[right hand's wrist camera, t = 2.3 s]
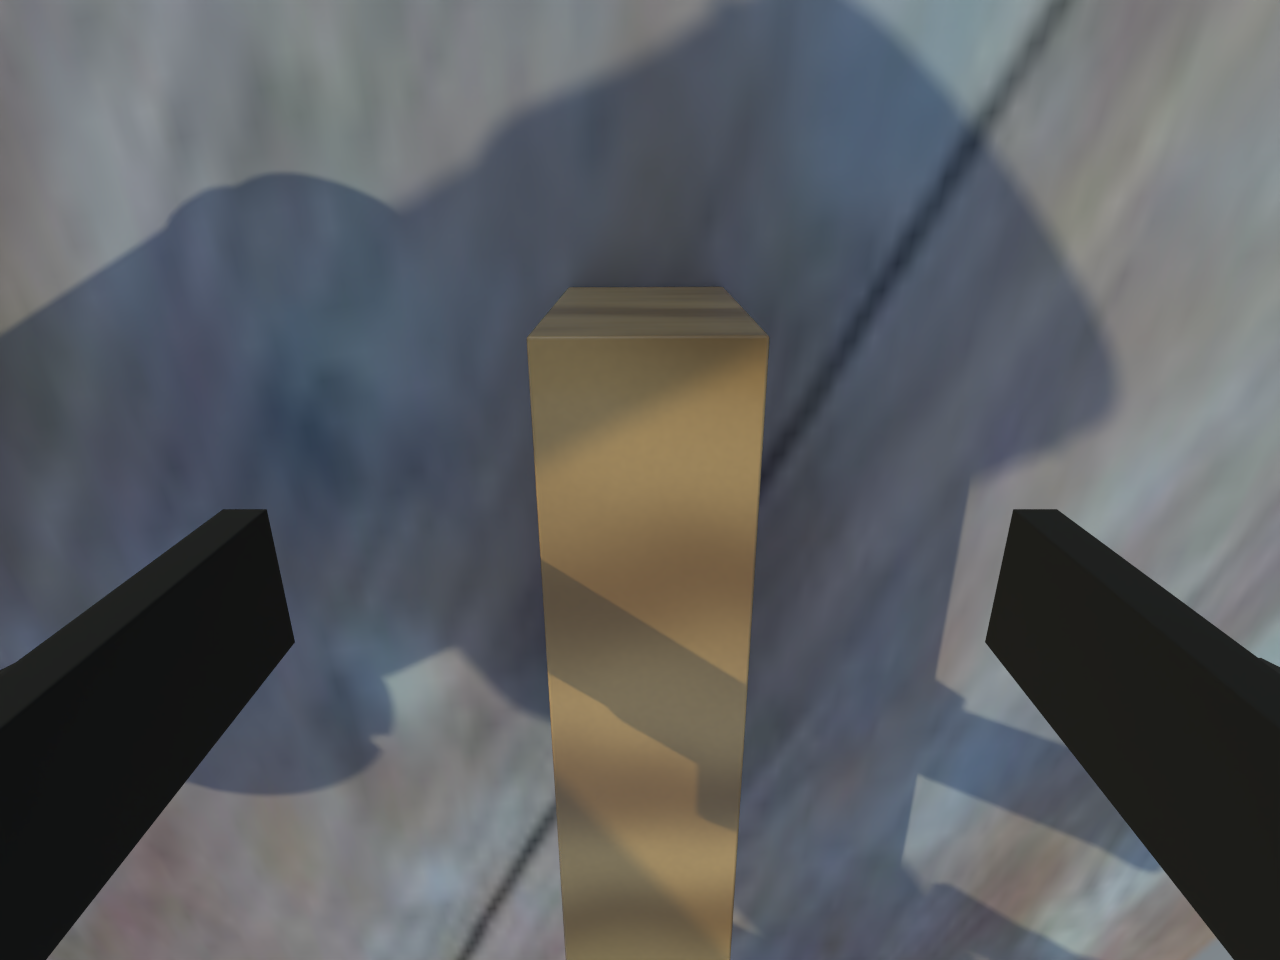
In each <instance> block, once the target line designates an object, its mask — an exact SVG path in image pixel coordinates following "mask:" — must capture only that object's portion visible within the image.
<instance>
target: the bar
mask: <svg viewBox="0 0 1280 960" xmlns="http://www.w3.org/2000/svg"><path fill="white" fill-rule="evenodd" d="M527 353H528V369H529V385H530V401H531V417H532V433H533V448H534V464H535V480H536V496H537V512H538V527H539V543H540V559H541V575H542V591H543V607H544V622H545V638H546V654H547V670H548V686H549V702H550V717H551V733H552V749H553V765H554V781H555V797H556V812H557V828H558V844H559V860H560V876H561V892H562V907H563V923H564V939H565V955H566V960H730V955H731V939H732V924H733V908H734V892H735V876H736V860H737V845H738V829H739V813H740V797H741V781H742V766H743V750H744V734H745V718H746V702H747V687H748V671H749V655H750V639H751V623H752V607H753V592H754V576H755V560H756V544H757V528H758V513H759V497H760V481H761V465H762V449H763V434H764V418H765V402H766V386H767V370H768V355H769V336H768V335H767V334H766V333H765V332H764V331H763V329H762V328H761V327H760V326H759V325H758V324H757V323H756V322H755V321H754V320H753V319H752V318H751V317H750V316H749V314H748V313H747V312H746V311H745V310H744V309H743V308H742V307H741V306H740V305H739V304H738V303H737V302H736V301H735V299H734V298H733V297H732V296H731V295H730V294H729V293H728V292H727V291H726V290H725V289H724V288H723V287H570V288H568V289H567V290H566V291H565V293H564V294H563V295H562V296H561V297H560V299H559V300H558V301H557V302H556V303H555V305H554V306H553V307H552V308H551V309H550V311H549V312H548V313H547V314H546V315H545V317H544V318H543V319H542V320H541V321H540V323H539V324H538V325H537V326H536V327H535V329H534V330H533V331H532V332H531V333H530V335H529V336H528V337H527Z"/></svg>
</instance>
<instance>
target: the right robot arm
mask: <svg viewBox="0 0 1280 960" xmlns="http://www.w3.org/2000/svg"><path fill="white" fill-rule="evenodd" d="M294 643H295V641H294V636H293V631H292V627H291V622H290V617H289V612H288V608H287V603H286V598H285V594H284V589H283V584H282V579H281V575H280V570H279V565H278V561H277V556H276V551H275V546H274V542H273V537H272V532H271V528H270V523H269V518H268V513H267V509H223V510H222V511H220V512H219V513H218V514H216V515H215V516H214V517H212V518H211V519H209V520H208V521H207V522H205V523H204V524H203V525H201V526H200V527H199V528H197V529H196V530H195V531H193V532H192V533H191V534H189V535H188V536H186V537H185V538H184V539H182V540H181V541H180V542H178V543H177V544H176V545H174V546H173V547H172V548H170V549H169V550H167V551H166V552H165V553H163V554H162V555H161V556H159V557H158V558H157V559H155V560H154V561H153V562H151V563H150V564H149V565H147V566H146V567H144V568H143V569H142V570H140V571H139V572H138V573H136V574H135V575H134V576H132V577H131V578H130V579H128V580H127V581H126V582H124V583H123V584H121V585H120V586H119V587H117V588H116V589H115V590H113V591H112V592H111V593H109V594H108V595H107V596H105V597H104V598H102V599H101V600H100V601H98V602H97V603H96V604H94V605H93V606H92V607H90V608H89V609H88V610H86V611H85V612H84V613H82V614H81V615H79V616H78V617H77V618H75V619H74V620H73V621H71V622H70V623H69V624H67V625H66V626H65V627H63V628H62V629H61V630H59V631H58V632H56V633H55V634H54V635H52V636H51V637H50V638H48V639H47V640H46V641H44V642H43V643H42V644H40V645H39V646H37V647H36V648H35V649H33V650H32V651H31V652H29V653H28V654H27V655H25V656H24V657H23V658H21V659H20V660H19V661H17V662H16V663H14V664H12V665H10V666H8V667H6V668H4V669H2V670H0V960H46V959H47V958H48V956H49V955H50V954H51V953H52V951H53V950H54V949H55V948H56V946H57V945H58V944H59V942H60V941H61V940H62V939H63V937H64V936H65V935H66V934H67V932H68V931H69V930H70V928H71V927H72V926H73V925H74V923H75V922H76V921H77V919H78V918H79V917H80V916H81V914H82V913H83V912H84V911H85V909H86V908H87V907H88V905H89V904H90V903H91V902H92V900H93V899H94V898H95V897H96V895H97V894H98V893H99V891H100V890H101V889H102V888H103V886H104V885H105V884H106V882H107V881H108V880H109V879H110V877H111V876H112V875H113V874H114V872H115V871H116V870H117V868H118V867H119V866H120V865H121V863H122V862H123V861H124V859H125V858H126V857H127V856H128V854H129V853H130V852H131V851H132V849H133V848H134V847H135V845H136V844H137V843H138V842H139V840H140V839H141V838H142V837H143V835H144V834H145V833H146V831H147V830H148V829H149V828H150V826H151V825H152V824H153V822H154V821H155V820H156V819H157V817H158V816H159V815H160V814H161V812H162V811H163V810H164V808H165V807H166V806H167V805H168V803H169V802H170V801H171V800H172V798H173V797H174V796H175V794H176V793H177V792H178V791H179V789H180V788H181V787H182V785H183V784H184V783H185V782H186V780H187V779H188V778H189V777H190V775H191V774H192V773H193V771H194V770H195V769H196V768H197V766H198V765H199V764H200V762H201V761H202V760H203V759H204V757H205V756H206V755H207V754H208V752H209V751H210V750H211V748H212V747H213V746H214V745H215V743H216V742H217V741H218V740H219V738H220V737H221V736H222V734H223V733H224V732H225V731H226V729H227V728H228V727H229V725H230V724H231V723H232V722H233V720H234V719H235V718H236V717H237V715H238V714H239V713H240V711H241V710H242V709H243V708H244V706H245V705H246V704H247V703H248V701H249V700H250V699H251V697H252V696H253V695H254V694H255V692H256V691H257V690H258V688H259V687H260V686H261V685H262V683H263V682H264V681H265V680H266V678H267V677H268V676H269V674H270V673H271V672H272V671H273V669H274V668H275V667H276V666H277V664H278V663H279V662H280V660H281V659H282V658H283V657H284V655H285V654H286V653H287V651H288V650H289V649H290V648H291V646H292V645H293V644H294ZM985 643H986V644H987V645H988V646H989V648H990V649H991V650H992V651H993V653H994V654H995V655H996V657H997V658H998V659H999V660H1000V662H1001V663H1002V664H1003V666H1004V667H1005V668H1006V669H1007V671H1008V672H1009V673H1010V674H1011V676H1012V677H1013V678H1014V680H1015V681H1016V682H1017V683H1018V685H1019V686H1020V687H1021V688H1022V690H1023V691H1024V692H1025V694H1026V695H1027V696H1028V697H1029V699H1030V700H1031V701H1032V703H1033V704H1034V705H1035V706H1036V708H1037V709H1038V710H1039V711H1040V713H1041V714H1042V715H1043V717H1044V718H1045V719H1046V720H1047V722H1048V723H1049V724H1050V725H1051V727H1052V728H1053V729H1054V731H1055V732H1056V733H1057V734H1058V736H1059V737H1060V738H1061V740H1062V741H1063V742H1064V743H1065V745H1066V746H1067V747H1068V748H1069V750H1070V751H1071V752H1072V754H1073V755H1074V756H1075V757H1076V759H1077V760H1078V761H1079V762H1080V764H1081V765H1082V766H1083V768H1084V769H1085V770H1086V771H1087V773H1088V774H1089V775H1090V777H1091V778H1092V779H1093V780H1094V782H1095V783H1096V784H1097V785H1098V787H1099V788H1100V789H1101V791H1102V792H1103V793H1104V794H1105V796H1106V797H1107V798H1108V800H1109V801H1110V802H1111V803H1112V805H1113V806H1114V807H1115V808H1116V810H1117V811H1118V812H1119V814H1120V815H1121V816H1122V817H1123V819H1124V820H1125V821H1126V822H1127V824H1128V825H1129V826H1130V828H1131V829H1132V830H1133V831H1134V833H1135V834H1136V835H1137V837H1138V838H1139V839H1140V840H1141V842H1142V843H1143V844H1144V845H1145V847H1146V848H1147V849H1148V851H1149V852H1150V853H1151V854H1152V856H1153V857H1154V858H1155V859H1156V861H1157V862H1158V863H1159V865H1160V866H1161V867H1162V868H1163V870H1164V871H1165V872H1166V874H1167V875H1168V876H1169V877H1170V879H1171V880H1172V881H1173V882H1174V884H1175V885H1176V886H1177V888H1178V889H1179V890H1180V891H1181V893H1182V894H1183V895H1184V897H1185V898H1186V899H1187V900H1188V902H1189V903H1190V904H1191V905H1192V907H1193V908H1194V909H1195V911H1196V912H1197V913H1198V914H1199V916H1200V917H1201V918H1202V919H1203V921H1204V922H1205V923H1206V925H1207V926H1208V927H1209V928H1210V930H1211V931H1212V932H1213V934H1214V935H1215V936H1216V937H1217V939H1218V940H1219V941H1220V942H1221V944H1222V945H1223V946H1224V948H1225V949H1226V950H1227V951H1228V953H1229V954H1230V955H1231V956H1232V958H1233V959H1234V960H1280V667H1278V666H1276V665H1274V664H1272V663H1270V662H1268V661H1266V660H1264V659H1262V658H1257V657H1256V656H1255V655H1253V654H1252V653H1251V652H1249V651H1248V650H1247V649H1245V648H1244V647H1242V646H1241V645H1240V644H1238V643H1237V642H1236V641H1234V640H1233V639H1232V638H1230V637H1229V636H1228V635H1226V634H1225V633H1224V632H1222V631H1221V630H1219V629H1218V628H1217V627H1215V626H1214V625H1213V624H1211V623H1210V622H1209V621H1207V620H1206V619H1205V618H1203V617H1202V616H1201V615H1199V614H1198V613H1196V612H1195V611H1194V610H1192V609H1191V608H1190V607H1188V606H1187V605H1186V604H1184V603H1183V602H1182V601H1180V600H1179V599H1178V598H1176V597H1175V596H1173V595H1172V594H1171V593H1169V592H1168V591H1167V590H1165V589H1164V588H1163V587H1161V586H1160V585H1159V584H1157V583H1156V582H1154V581H1153V580H1152V579H1150V578H1149V577H1148V576H1146V575H1145V574H1144V573H1142V572H1141V571H1140V570H1138V569H1137V568H1136V567H1134V566H1133V565H1131V564H1130V563H1129V562H1127V561H1126V560H1125V559H1123V558H1122V557H1121V556H1119V555H1118V554H1117V553H1115V552H1114V551H1113V550H1111V549H1110V548H1108V547H1107V546H1106V545H1104V544H1103V543H1102V542H1100V541H1099V540H1098V539H1096V538H1095V537H1094V536H1092V535H1091V534H1089V533H1088V532H1087V531H1085V530H1084V529H1083V528H1081V527H1080V526H1079V525H1077V524H1076V523H1075V522H1073V521H1072V520H1071V519H1069V518H1068V517H1066V516H1065V515H1064V514H1062V513H1061V512H1060V511H1058V510H1057V509H1013V513H1012V518H1011V523H1010V528H1009V532H1008V537H1007V542H1006V546H1005V551H1004V556H1003V561H1002V565H1001V570H1000V575H999V579H998V584H997V589H996V594H995V598H994V603H993V608H992V612H991V617H990V622H989V627H988V631H987V636H986V641H985Z"/></svg>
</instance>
